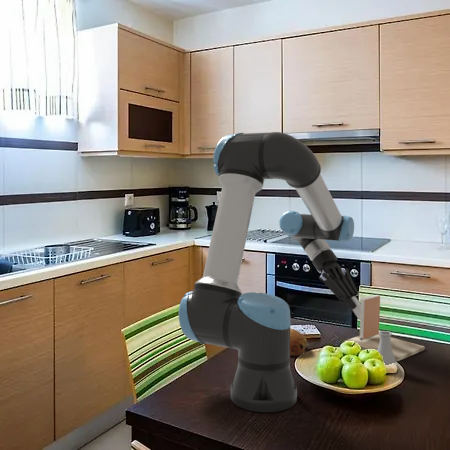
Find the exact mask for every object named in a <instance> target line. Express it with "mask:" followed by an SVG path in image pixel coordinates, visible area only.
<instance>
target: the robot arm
mask: <svg viewBox="0 0 450 450" xmlns="http://www.w3.org/2000/svg"><path fill="white" fill-rule="evenodd" d="M212 157H213V159H212V160H213V161H212V163H214V164H213V170H214V173H215V174H216V175H217V179H218V180H217V181H218V182H219V184H220V186H221V191H220V196H219V201H218V205H217V210H216V215H215V220H214V223H213V228H212V233H211V238H210V242H209V247H208V250H207V257H206V261H205V264H204V265H205V266H204V269H203V273H202V274H203V275H202V277H201V278H199V279H198V280H197V281H195V283H194V286H193V290H190V291H188V292H186V293H185V294H184V296H183V297H182V298H181V300H180V303H179V307H178V322H179V326H180V328H181V332H182V334H184V336H185V337H186V338H187V339H189V340H190V341H191V340H192V341H195V342H198V343H199V344H204V345H205V344H207V345H211V346H217V347H223V348H227V349H233V350H237V358H238V362H237V367H236V370H235V374H234V378H233V381H232V383H231V385H230V400H231V402H232V403H233V404H234V405H235V406H237V407H239V408H242V409H243V410H247V411H251V412H256V413H277V412H281V411H285V410H288V409H291V408H292V407H293V406H294V405H296V403H297V401H298V398H297V397H298V390H297V385H296V384H295V382H294V377H293V372H292V370H291V367H290V365H291V364H290V362H291V360H290V359H291V358H290V357H291V356H290V329H291V325H292V320H291V310H290V305H289V304H288V302H286V301H285V300H284V299H282V298H281V297H278V296H276V295H273V294H269V293H264V292H254V291H253V292H245V293H243V292H242V290H241V289H240V287H239V285H238V282H239V278H240V277H239V276H240V272H241V268H242V267H241V266H242V261H243V257H244V252H245V248H246V247H245V246H246V242H247V236H248V232H249V227H250V221H251V218H252V217H251V216H252V212H253V208H254V201H255V196H256V194H257V193H258V192H260V191H262V189H263V188H264V187H263V186H264V182H265V180H273V179H274V180H282V181H285V183H286V184H287V185H289V187H291V188H293V189H295V191H296V192H297V194H298V195H299V196H300V198H301V200H302V202H303V204H304V205H305V207H306V208H307V210H308V212H309V213H310V214H306V213H300V212H298V211H294V210H288V211H285V212H284V213H283V214H282V215H281V216H280V218H279V221H278V222H279V223H278V224H279V228H280V230H281V231H282V232H283V233H284V234H285V235H286V236H288V237H291V238H292V239H294V240H296V241H297V242H298V243H299V245H300V246H301V248H302V250H303V252H305V253H306V256H307V257H308V258H309V260H310V261H312V264H313V266H314V267H315V269H316V271H318V272H320V276H318V280H320V281H321V282H322V283H323V284H325V286H326V287H327V288H328V289H329V290H330V291H331V292H332V293H333V295H334V296H335V297H336V298H337V299H338V300H339V301H342V303H343V304H344V303H347V305H348V306H349V307H350V309H351V310H352V312H353V313H354V315H355V316H356V317H357V320H360V310H361V301H359V299H358V297H357V296H358V294H359V290H358V289H357V287H356V285H355V282H354V280H353V278H352V277H351V276H352V275H350V270H349V268H345V269H344V268H342V267H341V265H340V264H338V262H337V261H338V258H337V256H336V254H335V253H334V251H333V250H332V249H331V247H330V245H329V244H328V243H327V241H337V242H340V241H343V242H344V241H345V242H346V241H348V242H349V241H351V239H352V238H353V236H354V232H355V221H354V219H353V217H352V216H348V215H342V214H341V212H340V210H339V209H338V206H337V204H336V203H335V200H334V199H333V196H332V195H331V193H330V190H329V189H328V186H327V184H326V182H325V181H324V179H323V176H322V174H321V172H322V167H321V164H320V162H319V160H318V158H317V156H316V155H315V154H314V153H313V151H312V150H311V149H310V148H309V147H308V146H307V145H306V144H305V143H303V142H302V141H300V140H299V139H297V138H296V137H294V136H293V135H291V134H288V133H285V132H279V131H272V132H258V133H257V132H250V133H244V132H238V133H231V134H227V135H225V136H223V137H222V138H221V139H220V140H219V141H218V142H217V144H216V147H215V149H214V152H213V156H212ZM326 240H327V241H326Z"/></svg>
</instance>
